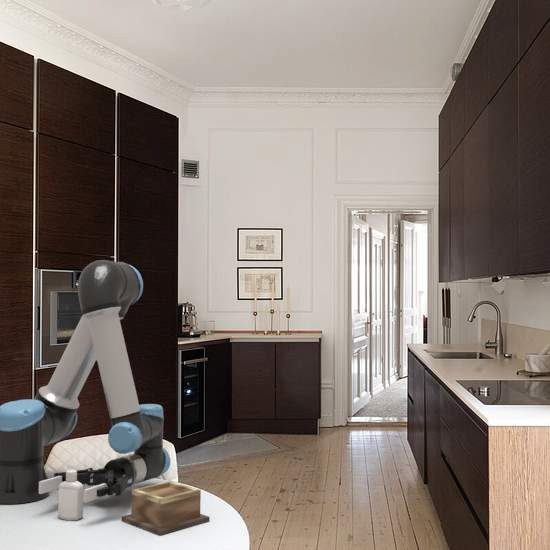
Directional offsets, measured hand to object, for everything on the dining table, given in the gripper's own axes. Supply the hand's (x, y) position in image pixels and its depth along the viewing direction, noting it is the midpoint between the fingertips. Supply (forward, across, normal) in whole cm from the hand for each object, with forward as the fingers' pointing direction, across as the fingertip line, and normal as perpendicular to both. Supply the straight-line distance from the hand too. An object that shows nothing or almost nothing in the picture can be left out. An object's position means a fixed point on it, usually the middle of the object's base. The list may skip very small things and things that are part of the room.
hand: (61, 492), depth 156 cm
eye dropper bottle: (-3, 0, -7) cm, 7 cm away
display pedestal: (-12, -20, -7) cm, 24 cm away
